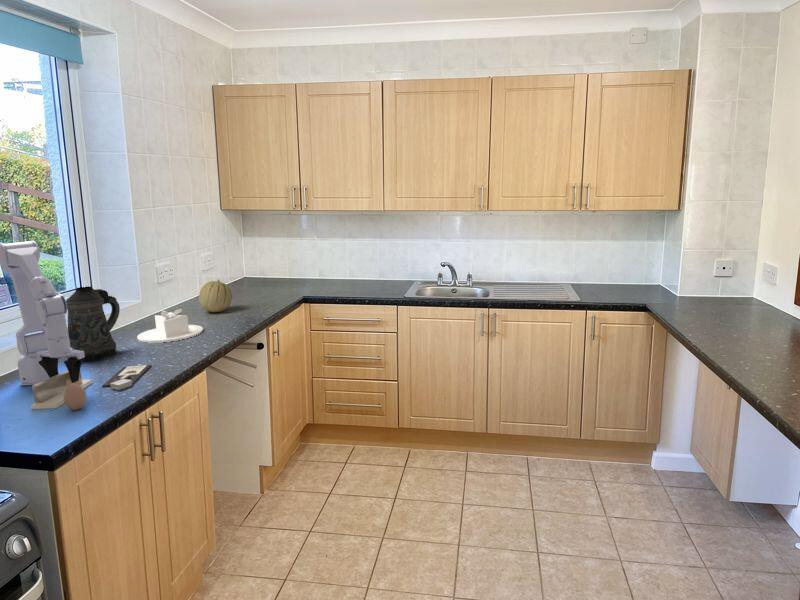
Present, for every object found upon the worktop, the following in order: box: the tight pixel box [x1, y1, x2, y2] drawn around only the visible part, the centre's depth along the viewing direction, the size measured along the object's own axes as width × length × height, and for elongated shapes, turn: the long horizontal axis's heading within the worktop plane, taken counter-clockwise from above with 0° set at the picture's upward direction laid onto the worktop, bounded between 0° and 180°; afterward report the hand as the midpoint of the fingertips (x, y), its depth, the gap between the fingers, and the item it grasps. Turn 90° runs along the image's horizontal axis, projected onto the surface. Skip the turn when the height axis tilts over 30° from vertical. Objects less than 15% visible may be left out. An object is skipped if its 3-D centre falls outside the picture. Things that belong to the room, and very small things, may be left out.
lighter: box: [110, 374, 133, 391], centre depth 177 cm, size 7×2×8 cm
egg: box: [64, 384, 87, 411], centre depth 158 cm, size 5×5×7 cm
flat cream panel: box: [30, 379, 93, 410], centre depth 170 cm, size 7×20×1 cm, turn 2°
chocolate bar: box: [101, 364, 152, 388], centre depth 185 cm, size 9×1×18 cm
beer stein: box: [65, 286, 121, 363], centre depth 209 cm, size 16×19×25 cm
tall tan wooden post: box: [31, 369, 83, 403], centre depth 169 cm, size 2×16×5 cm, turn 169°
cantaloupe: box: [198, 279, 233, 313], centre depth 272 cm, size 15×15×15 cm
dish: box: [136, 308, 204, 344], centre depth 234 cm, size 25×25×11 cm
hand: (65, 381), depth 172 cm, fingers open, 6 cm apart
